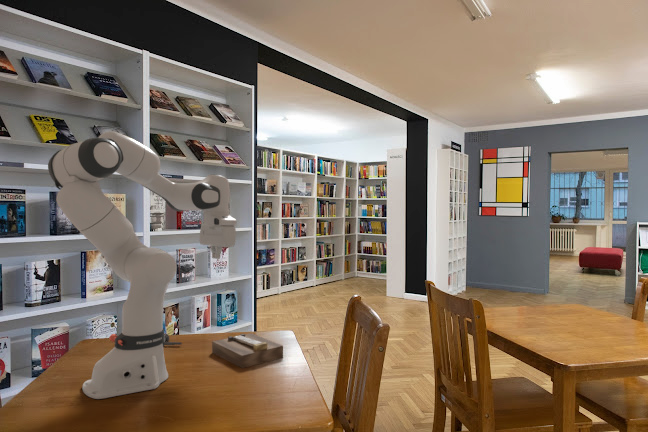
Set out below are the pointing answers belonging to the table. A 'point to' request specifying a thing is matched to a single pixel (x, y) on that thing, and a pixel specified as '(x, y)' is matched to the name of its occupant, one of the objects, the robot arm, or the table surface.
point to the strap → (246, 340)
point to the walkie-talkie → (170, 342)
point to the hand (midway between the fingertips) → (216, 258)
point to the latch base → (247, 350)
